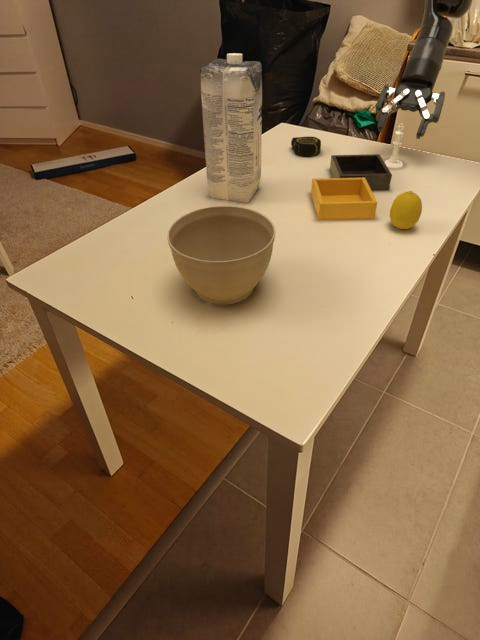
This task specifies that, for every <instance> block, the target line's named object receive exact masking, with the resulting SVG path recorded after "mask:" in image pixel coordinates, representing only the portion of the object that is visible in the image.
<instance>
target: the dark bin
mask: <svg viewBox="0 0 480 640" xmlns="http://www.w3.org/2000/svg"><path fill="white" fill-rule="evenodd" d="M384 161H385V160H384V159H383V158H382V156H381V155H380V153H376V154H375V153H373V154H372V153H370V154H369V153H367V154H331V156H330V164H329V172H330V175H331V178H364V177H365V179H366V181H367V183H368V185H369V187H370V189H371V191H372V192H384V191H385V192H387V191H388V192H389V190H390V187H391V182H392V177H393V174H392V173H391V171H390V168H388V167H387V166H386V164H385V162H384Z"/></svg>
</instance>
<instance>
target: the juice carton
mask: <svg viewBox="0 0 480 640" xmlns="http://www.w3.org/2000/svg"><path fill="white" fill-rule="evenodd" d="M262 66H263V65H262V63H261V62H260V61H256V60H253V61H252V60H251V61H250V60H249V61H243V53H240V52H239V53H237V52H236V53H235V52H233V53H227V54H226V59H224V58H216V59H214V60H213V61H211V62H209V63H208V64H206V65H205V66H203V67H201V68H200V70H199V75H200V95H201V96H200V97H201V111H202V126H203V127H202V128H203V140H204V154H205V155H204V156H205V171H206V183H207V187H208V192H209V195H210V198H211V199H217V200H226V201H230V202H231V201H232V202H235V203H236V202H237V203H242V204H243V203H244V204H248V203H249V202H250V201H251V199H252V198H253V196H254V195H255V194H256V192H257V191H258V190H259V186H260V183H261V177H262V134H263V133H262V132H263V130H262V127H263V123H262V122H263V78H262V77H263V76H262V71H263V70H262V69H263V67H262Z"/></svg>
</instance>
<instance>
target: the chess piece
mask: <svg viewBox="0 0 480 640" xmlns="http://www.w3.org/2000/svg"><path fill="white" fill-rule="evenodd" d="M403 125H404V123H402V122H400V123H399V125H396V128H397V129H398V130H396V131H394V135H395V137H394V139H395V140H392V144H393V145H394V147H393V150H392V152H391V155H390V158H388V159H385V160H383V161H384V162H385V164H386V166H387V167H388V169H401V168H402V167H404V163H403V162H402V161H401V160H400V159H399V151H400V150H399V149H400V146H402V145H403V141H402V138H403V136H404V134H405V132H404V131H403V130H405V126H403Z"/></svg>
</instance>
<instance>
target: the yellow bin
mask: <svg viewBox="0 0 480 640" xmlns="http://www.w3.org/2000/svg"><path fill="white" fill-rule="evenodd" d="M310 196H311V200H312V203H313V207H314V210H315V214H316V218H317V220H318V221H344V220H346V221H348V220H375V217H376V213H377V208H378V200H377V198H376V197H375V195H374V193H373V191H371V189H370V187H369V185H368V183H367V181H366V179H365V177H364V178H332V177H331V178H330V177H327V178H325V177H324V178H312V179H311V189H310Z"/></svg>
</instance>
